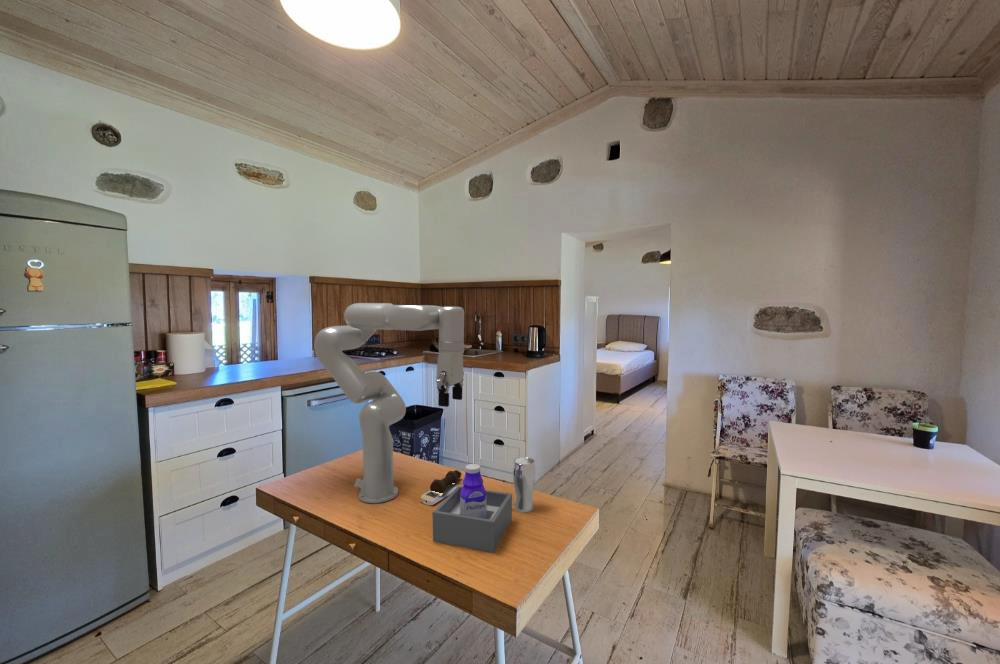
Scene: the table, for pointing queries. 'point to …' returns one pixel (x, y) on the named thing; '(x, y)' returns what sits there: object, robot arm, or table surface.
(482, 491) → the bottle
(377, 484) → the robot arm
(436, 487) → the bolt
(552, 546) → the table surface
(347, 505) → the table surface
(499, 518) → the bore box
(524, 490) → the beer glass
